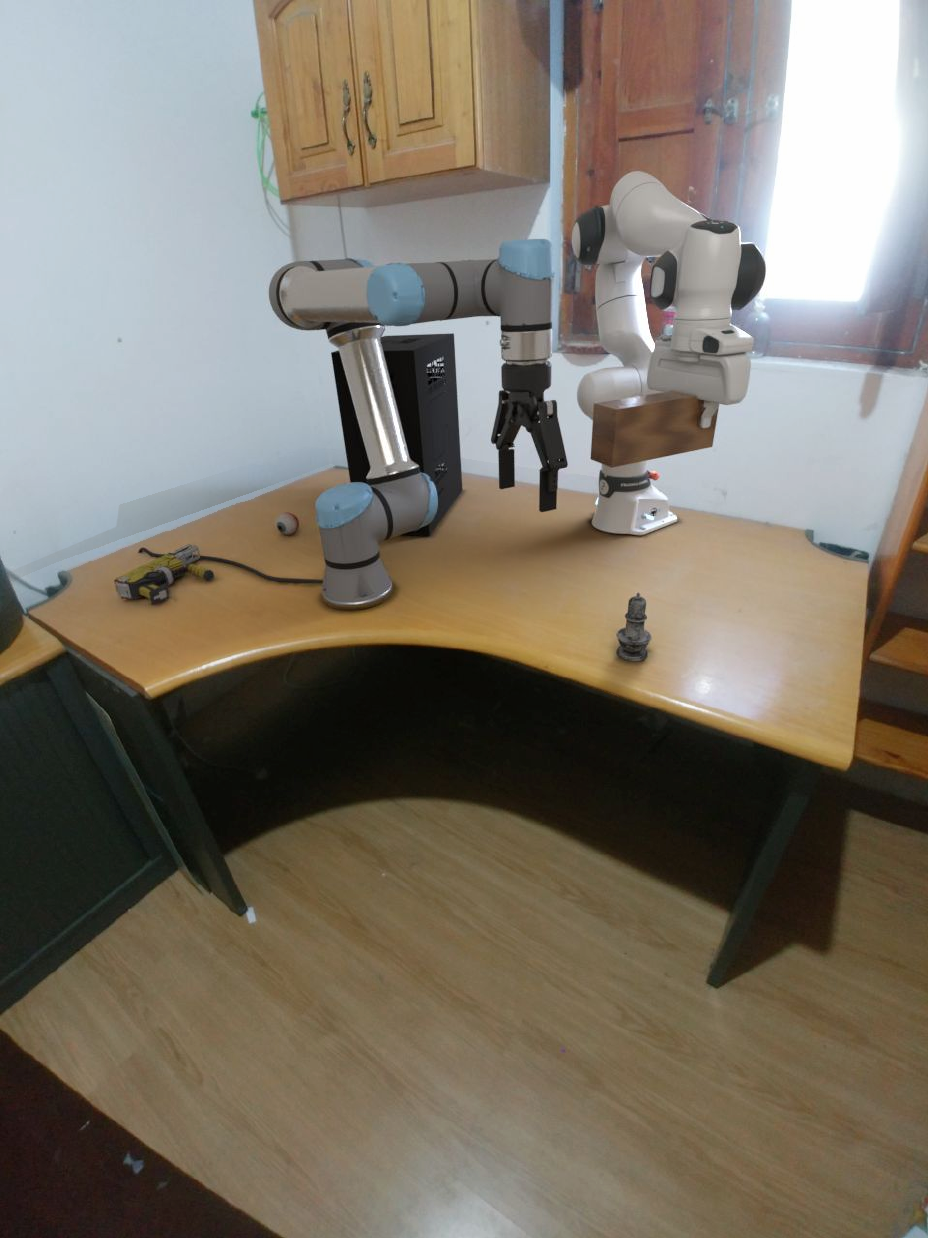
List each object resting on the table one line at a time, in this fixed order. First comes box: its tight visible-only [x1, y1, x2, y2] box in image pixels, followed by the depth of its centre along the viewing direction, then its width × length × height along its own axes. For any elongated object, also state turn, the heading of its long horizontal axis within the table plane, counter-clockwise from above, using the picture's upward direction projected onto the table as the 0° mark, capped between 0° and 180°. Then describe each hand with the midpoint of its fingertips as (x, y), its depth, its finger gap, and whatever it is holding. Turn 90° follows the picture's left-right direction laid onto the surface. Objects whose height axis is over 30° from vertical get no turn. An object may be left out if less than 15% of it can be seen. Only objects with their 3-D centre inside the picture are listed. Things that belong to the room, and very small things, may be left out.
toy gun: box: [113, 543, 215, 606], centre depth 141 cm, size 5×24×15 cm
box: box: [590, 391, 720, 468], centre depth 104 cm, size 22×6×9 cm, turn 115°
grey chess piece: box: [616, 592, 652, 662], centre depth 103 cm, size 6×6×12 cm
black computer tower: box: [330, 332, 463, 537], centre depth 165 cm, size 38×20×45 cm, turn 167°
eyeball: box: [275, 511, 300, 536], centre depth 163 cm, size 6×6×6 cm
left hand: (526, 498), depth 101 cm, fingers open, 13 cm apart
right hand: (687, 423), depth 107 cm, fingers closed on box, 6 cm apart
